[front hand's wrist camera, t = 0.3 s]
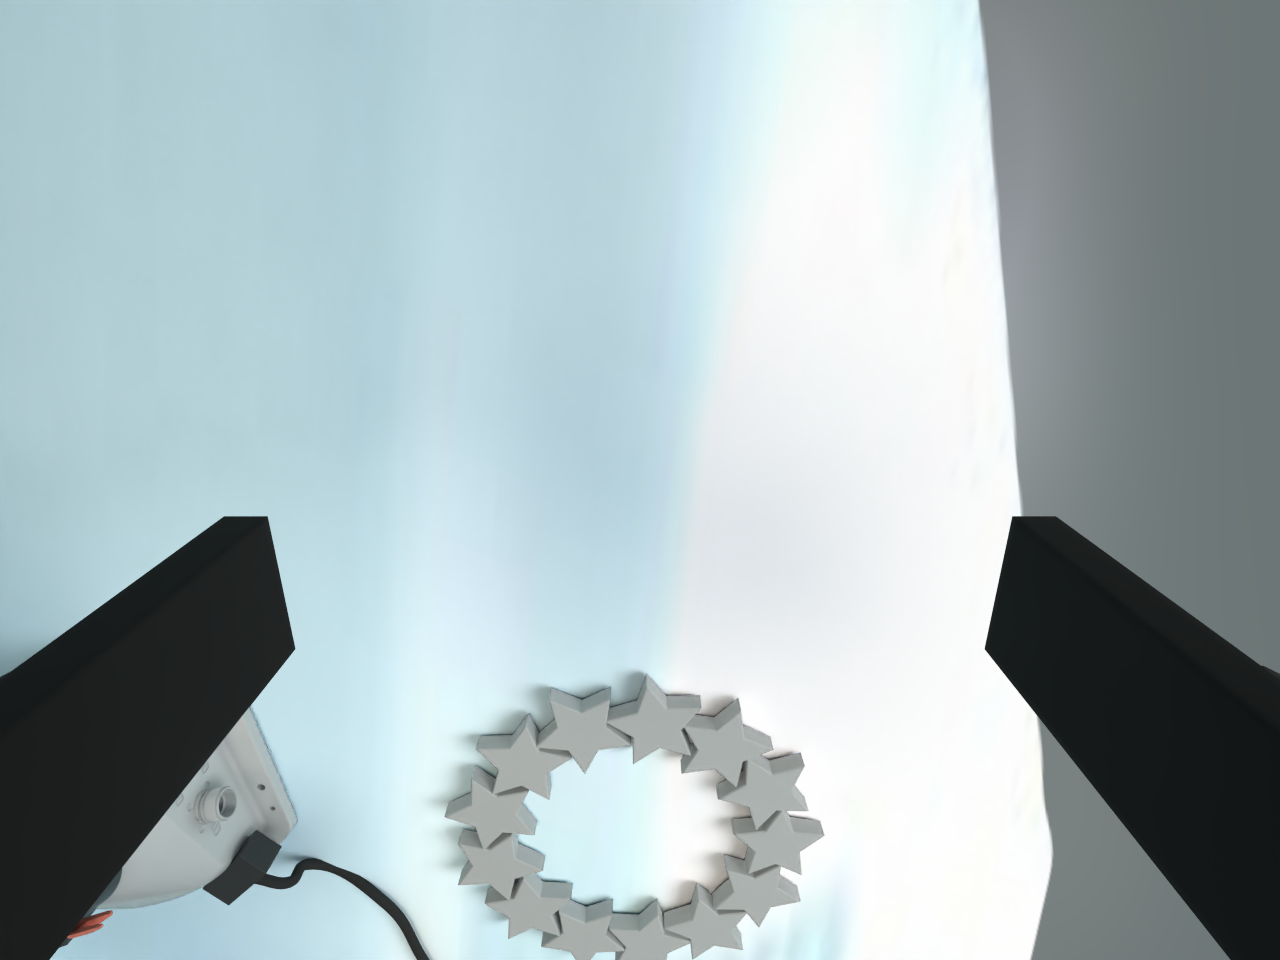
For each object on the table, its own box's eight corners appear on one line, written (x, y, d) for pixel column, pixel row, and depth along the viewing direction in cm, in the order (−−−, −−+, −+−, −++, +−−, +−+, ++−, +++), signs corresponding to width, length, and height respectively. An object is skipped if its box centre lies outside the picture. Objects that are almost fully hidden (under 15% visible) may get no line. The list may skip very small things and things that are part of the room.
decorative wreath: (417, 691, 52) (487, 968, 63) (411, 705, 51) (483, 987, 61) (817, 658, 51) (821, 945, 62) (822, 671, 50) (826, 963, 60)
